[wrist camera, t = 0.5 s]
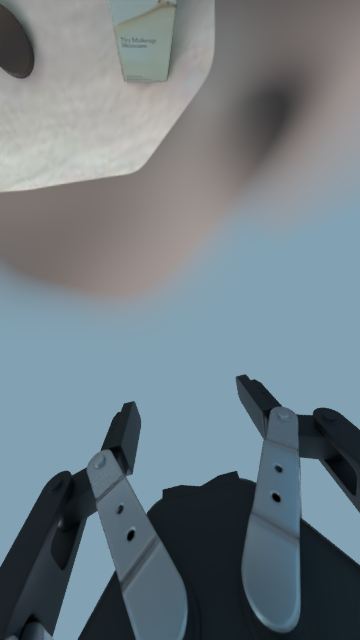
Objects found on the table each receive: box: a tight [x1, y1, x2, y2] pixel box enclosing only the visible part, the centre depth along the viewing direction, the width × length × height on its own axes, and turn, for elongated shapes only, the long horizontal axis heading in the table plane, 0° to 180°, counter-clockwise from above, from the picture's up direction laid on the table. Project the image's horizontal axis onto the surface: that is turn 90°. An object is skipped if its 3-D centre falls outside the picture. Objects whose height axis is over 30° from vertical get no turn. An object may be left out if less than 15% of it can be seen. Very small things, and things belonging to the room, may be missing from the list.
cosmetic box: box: [108, 0, 177, 82], centre depth 17 cm, size 6×4×12 cm
